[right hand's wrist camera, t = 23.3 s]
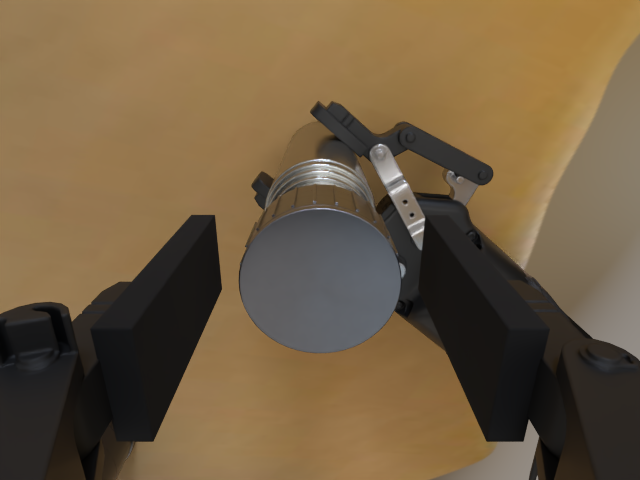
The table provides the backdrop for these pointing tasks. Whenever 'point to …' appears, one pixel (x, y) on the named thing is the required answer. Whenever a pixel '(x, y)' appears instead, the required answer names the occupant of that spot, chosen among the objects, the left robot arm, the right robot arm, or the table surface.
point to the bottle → (319, 164)
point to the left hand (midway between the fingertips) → (286, 144)
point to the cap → (320, 270)
